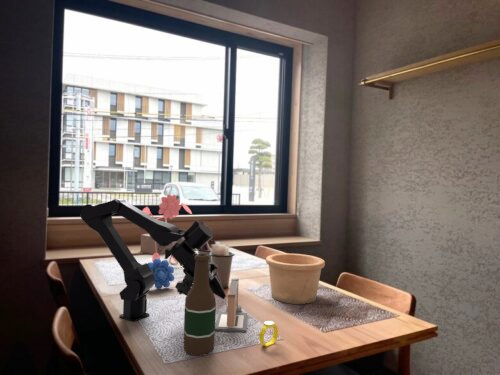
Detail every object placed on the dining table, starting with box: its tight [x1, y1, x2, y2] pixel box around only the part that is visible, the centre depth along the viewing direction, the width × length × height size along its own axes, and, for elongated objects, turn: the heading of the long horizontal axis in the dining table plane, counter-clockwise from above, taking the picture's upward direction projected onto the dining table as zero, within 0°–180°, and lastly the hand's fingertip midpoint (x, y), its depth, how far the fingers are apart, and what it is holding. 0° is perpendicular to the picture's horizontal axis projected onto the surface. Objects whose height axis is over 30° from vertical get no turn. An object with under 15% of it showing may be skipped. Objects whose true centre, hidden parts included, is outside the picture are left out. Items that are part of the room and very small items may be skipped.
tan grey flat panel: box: [226, 277, 239, 326], centre depth 117 cm, size 18×2×9 cm, turn 179°
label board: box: [215, 304, 248, 333], centre depth 117 cm, size 20×9×1 cm, turn 179°
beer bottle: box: [183, 253, 217, 357], centre depth 95 cm, size 8×8×24 cm
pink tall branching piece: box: [140, 193, 193, 270], centre depth 184 cm, size 15×26×35 cm, turn 132°
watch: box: [259, 320, 279, 348], centre depth 100 cm, size 6×3×6 cm, turn 135°
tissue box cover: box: [139, 233, 185, 256], centre depth 223 cm, size 26×14×10 cm, turn 142°
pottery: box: [265, 253, 326, 305], centre depth 142 cm, size 22×22×14 cm
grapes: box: [146, 258, 175, 290], centre depth 145 cm, size 12×7×12 cm, turn 118°
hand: (224, 297), depth 113 cm, fingers closed
